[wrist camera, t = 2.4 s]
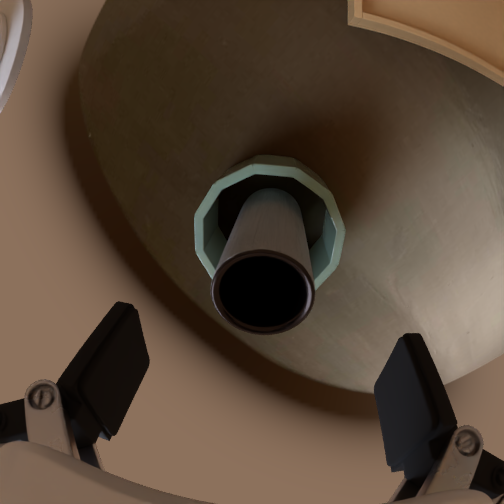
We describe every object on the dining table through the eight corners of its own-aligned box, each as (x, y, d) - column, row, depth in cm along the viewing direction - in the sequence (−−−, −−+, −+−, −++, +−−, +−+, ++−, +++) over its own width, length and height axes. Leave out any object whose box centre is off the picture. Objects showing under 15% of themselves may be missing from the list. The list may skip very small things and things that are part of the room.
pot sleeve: (210, 264, 23) (196, 294, 19) (211, 151, 19) (193, 160, 15) (321, 274, 23) (328, 308, 19) (340, 163, 19) (355, 175, 15)
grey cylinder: (303, 189, 20) (323, 253, 11) (298, 245, 22) (308, 339, 13) (241, 185, 20) (206, 246, 11) (240, 242, 22) (213, 331, 13)
